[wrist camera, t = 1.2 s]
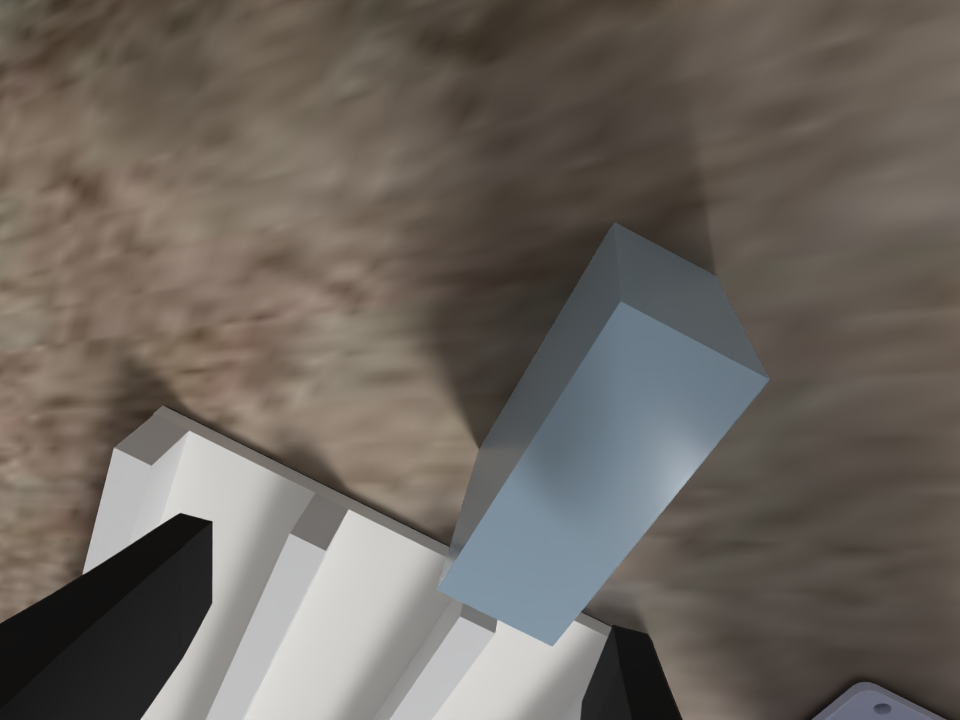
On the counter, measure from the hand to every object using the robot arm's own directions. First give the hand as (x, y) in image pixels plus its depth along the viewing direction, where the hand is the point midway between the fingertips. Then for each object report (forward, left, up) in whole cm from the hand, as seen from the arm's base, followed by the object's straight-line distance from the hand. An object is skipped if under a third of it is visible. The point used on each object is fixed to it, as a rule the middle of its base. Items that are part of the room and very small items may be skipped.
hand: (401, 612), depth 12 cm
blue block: (-2, -2, -9) cm, 9 cm away
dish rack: (0, +15, -9) cm, 17 cm away
